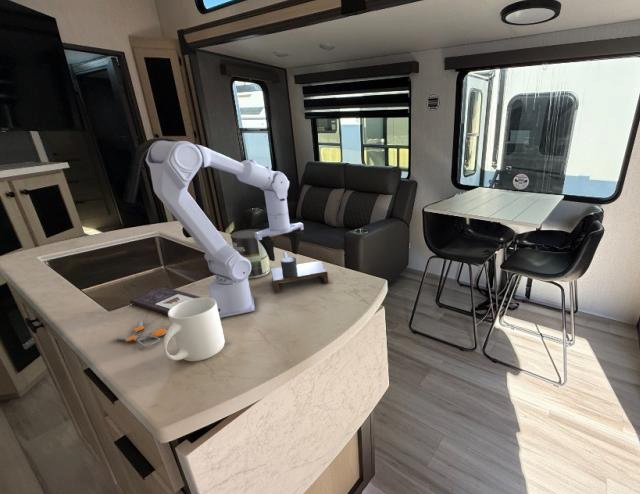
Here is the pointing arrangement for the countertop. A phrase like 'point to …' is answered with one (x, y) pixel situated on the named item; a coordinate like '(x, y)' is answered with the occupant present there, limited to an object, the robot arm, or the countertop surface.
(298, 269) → the shelf
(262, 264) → the coffee can
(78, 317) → the countertop surface
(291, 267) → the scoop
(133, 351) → the countertop surface
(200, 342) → the mug
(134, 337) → the key chain
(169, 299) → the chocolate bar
